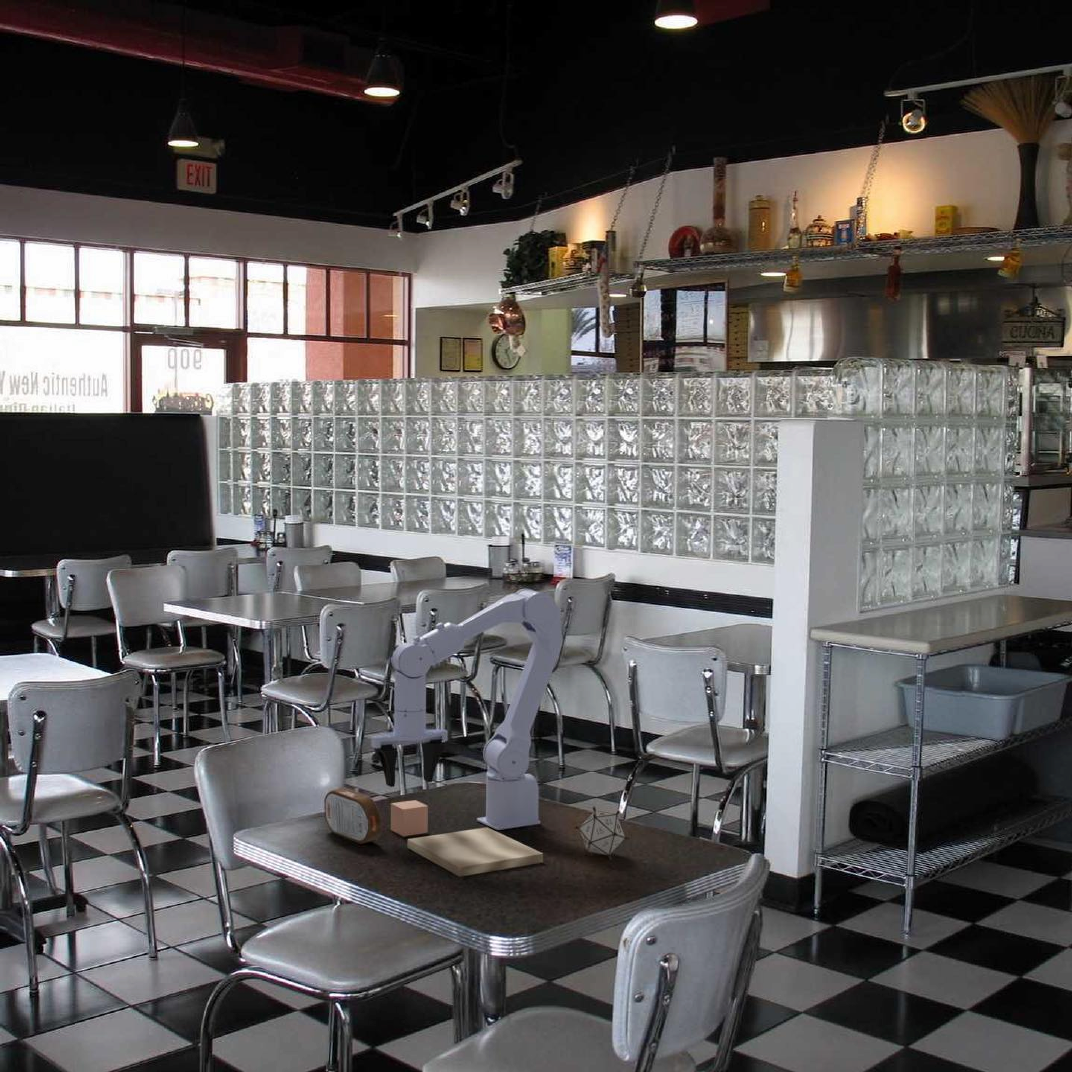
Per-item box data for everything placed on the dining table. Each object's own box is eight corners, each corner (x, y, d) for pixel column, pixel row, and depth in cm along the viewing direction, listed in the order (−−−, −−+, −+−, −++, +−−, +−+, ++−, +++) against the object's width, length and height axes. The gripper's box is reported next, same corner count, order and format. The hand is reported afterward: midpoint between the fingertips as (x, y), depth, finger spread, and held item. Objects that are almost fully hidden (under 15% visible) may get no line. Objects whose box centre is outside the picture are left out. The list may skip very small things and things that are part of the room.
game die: (591, 874, 227) (574, 820, 232) (638, 858, 226) (620, 804, 231) (582, 862, 219) (565, 807, 224) (630, 845, 219) (612, 790, 224)
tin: (382, 846, 230) (383, 798, 229) (367, 849, 228) (368, 801, 227) (335, 828, 241) (335, 782, 240) (320, 831, 239) (321, 785, 238)
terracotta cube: (415, 826, 243) (415, 800, 242) (427, 833, 238) (427, 806, 238) (390, 830, 240) (391, 803, 240) (402, 836, 236) (403, 809, 235)
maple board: (487, 835, 237) (487, 827, 237) (542, 862, 221) (543, 853, 221) (407, 847, 228) (407, 839, 228) (459, 876, 212) (459, 867, 212)
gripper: (435, 702, 245) (434, 774, 246) (364, 709, 238) (363, 783, 238) (453, 708, 239) (452, 782, 240) (380, 715, 232) (380, 791, 232)
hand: (409, 783), depth 239 cm, fingers open, 7 cm apart
